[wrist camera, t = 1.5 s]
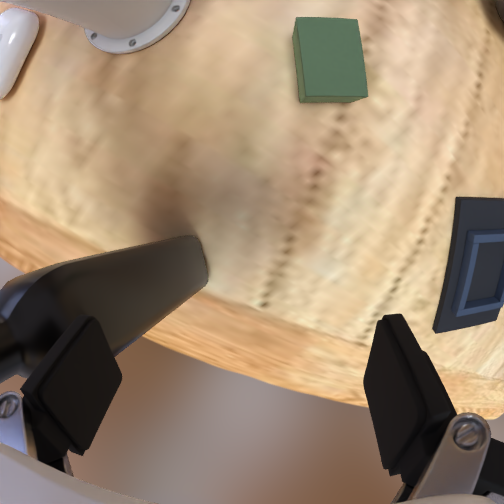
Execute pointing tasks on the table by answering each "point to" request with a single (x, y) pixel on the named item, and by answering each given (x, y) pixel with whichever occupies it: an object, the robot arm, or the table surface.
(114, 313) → the wine bottle
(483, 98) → the table surface
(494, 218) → the black pad
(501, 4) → the bowl
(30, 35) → the earbud case
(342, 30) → the green block
